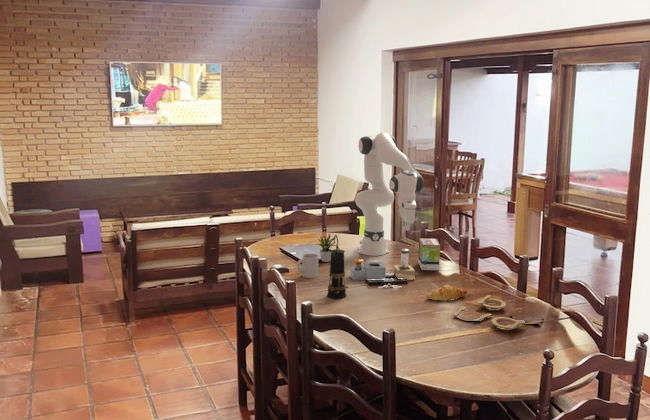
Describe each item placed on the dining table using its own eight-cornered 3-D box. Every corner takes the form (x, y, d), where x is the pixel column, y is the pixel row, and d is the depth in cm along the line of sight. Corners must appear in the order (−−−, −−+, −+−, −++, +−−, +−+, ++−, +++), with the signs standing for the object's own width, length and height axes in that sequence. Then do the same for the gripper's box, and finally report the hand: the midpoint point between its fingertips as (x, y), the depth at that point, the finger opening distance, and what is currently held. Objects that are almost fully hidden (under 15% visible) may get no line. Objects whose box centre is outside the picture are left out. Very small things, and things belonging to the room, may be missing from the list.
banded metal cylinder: (399, 273, 326) (400, 248, 323) (406, 273, 326) (408, 248, 323) (400, 276, 322) (402, 250, 319) (408, 276, 322) (409, 250, 319)
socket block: (363, 274, 327) (363, 262, 325) (381, 274, 328) (382, 262, 326) (366, 280, 317) (366, 267, 316) (385, 280, 318) (385, 267, 317)
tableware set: (445, 316, 270) (445, 307, 269) (480, 300, 290) (481, 292, 289) (518, 340, 246) (519, 330, 245) (551, 321, 266) (552, 312, 265)
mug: (314, 272, 330) (314, 252, 328) (321, 276, 323) (321, 256, 321) (293, 275, 325) (293, 255, 323) (300, 279, 318) (300, 259, 316)
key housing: (350, 276, 325) (350, 267, 324) (363, 275, 325) (363, 266, 324) (352, 280, 318) (352, 270, 317) (365, 279, 319) (366, 270, 318)
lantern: (349, 294, 296) (350, 234, 290) (340, 300, 288) (341, 238, 282) (333, 291, 300) (333, 232, 294) (323, 297, 292) (324, 236, 286)
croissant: (428, 309, 288) (432, 297, 283) (420, 293, 295) (424, 282, 290) (468, 304, 294) (473, 292, 289) (459, 288, 301) (464, 277, 296)
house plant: (338, 265, 344) (339, 236, 341) (314, 264, 345) (314, 236, 341) (338, 258, 358) (339, 230, 355) (315, 257, 359) (315, 230, 355)
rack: (393, 274, 328) (393, 265, 327) (410, 273, 329) (410, 265, 328) (397, 280, 319) (397, 270, 318) (414, 279, 320) (414, 270, 318)
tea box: (439, 270, 336) (440, 244, 333) (421, 270, 336) (422, 244, 333) (435, 262, 350) (436, 237, 348) (417, 262, 351) (418, 237, 348)
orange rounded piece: (352, 274, 324) (353, 258, 322) (362, 274, 324) (362, 258, 322) (354, 277, 319) (354, 261, 317) (363, 277, 319) (364, 261, 317)
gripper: (396, 198, 326) (395, 223, 328) (404, 206, 306) (403, 232, 309) (408, 198, 326) (407, 223, 329) (417, 205, 306) (416, 232, 309)
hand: (405, 228), depth 319 cm, fingers open, 8 cm apart
